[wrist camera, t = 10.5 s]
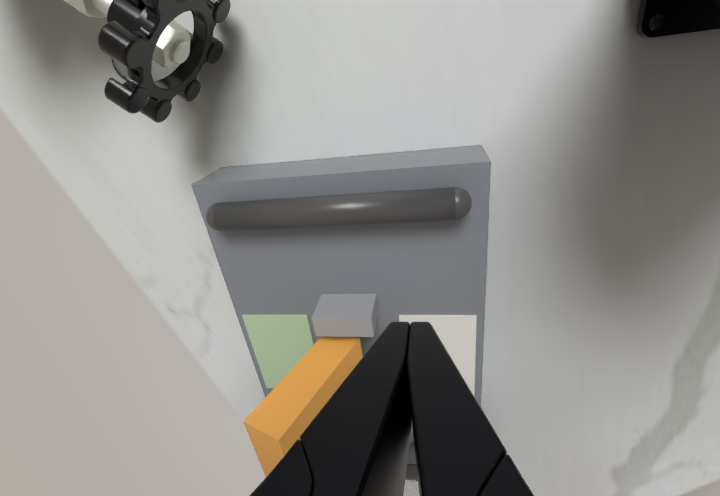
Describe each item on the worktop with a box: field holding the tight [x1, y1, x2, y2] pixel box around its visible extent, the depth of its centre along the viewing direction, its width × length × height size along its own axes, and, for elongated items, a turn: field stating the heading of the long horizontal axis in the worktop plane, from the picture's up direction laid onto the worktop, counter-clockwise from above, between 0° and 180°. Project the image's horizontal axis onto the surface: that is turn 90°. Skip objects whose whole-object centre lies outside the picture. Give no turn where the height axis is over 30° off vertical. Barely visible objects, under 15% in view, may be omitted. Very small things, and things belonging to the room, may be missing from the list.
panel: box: [192, 145, 491, 481], centre depth 22 cm, size 14×22×5 cm, turn 7°
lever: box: [244, 336, 363, 477], centre depth 18 cm, size 2×5×6 cm, turn 7°
